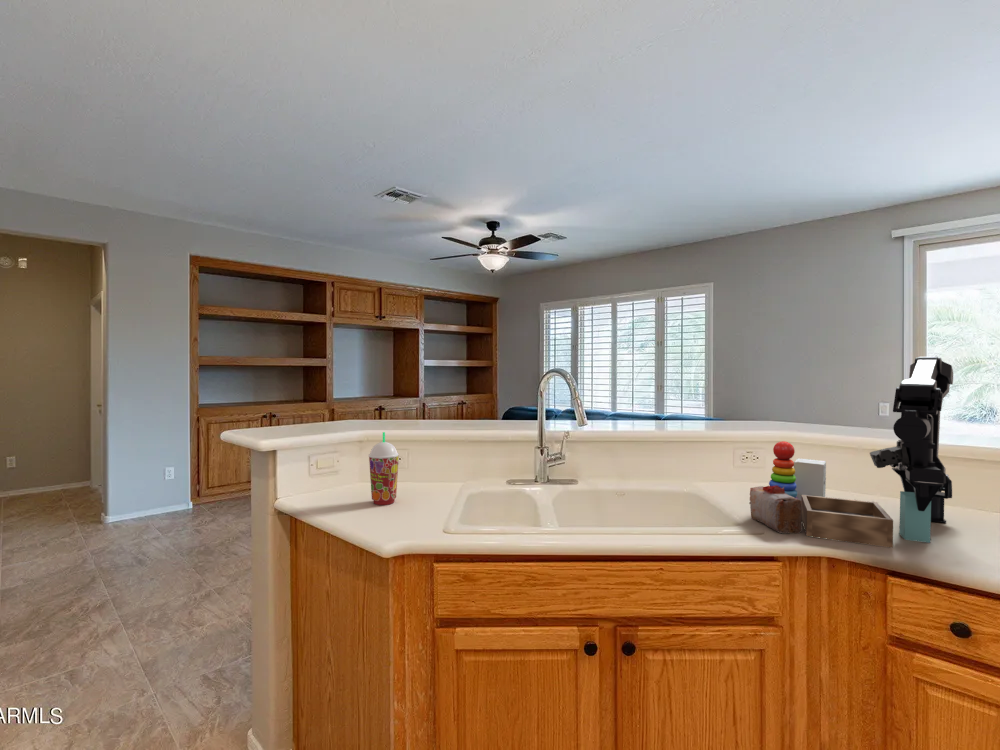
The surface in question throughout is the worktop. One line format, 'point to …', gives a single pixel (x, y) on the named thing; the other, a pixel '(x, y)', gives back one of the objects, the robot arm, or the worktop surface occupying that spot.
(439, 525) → the worktop surface
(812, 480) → the supplement box
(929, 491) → the robot arm
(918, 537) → the peg
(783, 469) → the stacking toy
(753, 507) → the weathered brown brick
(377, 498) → the smoothie
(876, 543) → the bore box
